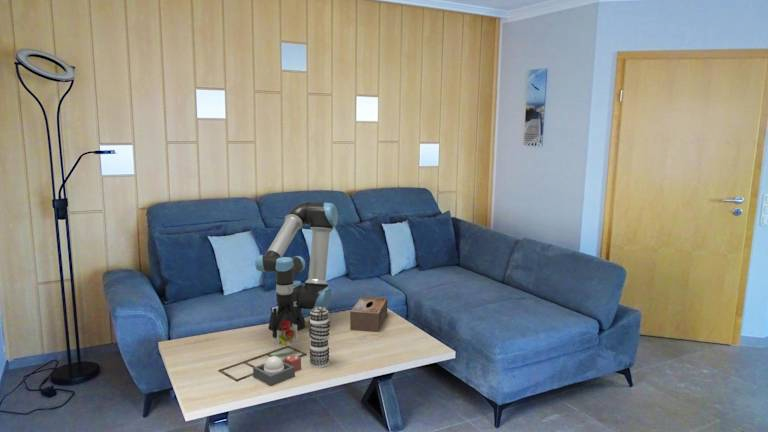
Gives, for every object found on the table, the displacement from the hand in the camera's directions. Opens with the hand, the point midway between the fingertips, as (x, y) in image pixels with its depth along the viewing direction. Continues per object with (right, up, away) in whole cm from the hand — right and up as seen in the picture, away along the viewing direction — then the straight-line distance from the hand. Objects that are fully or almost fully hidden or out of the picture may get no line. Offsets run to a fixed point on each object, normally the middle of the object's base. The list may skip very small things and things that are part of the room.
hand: (285, 341), depth 247 cm
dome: (-1, -9, -20) cm, 22 cm away
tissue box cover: (+36, 0, +43) cm, 56 cm away
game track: (-8, -8, -7) cm, 13 cm away
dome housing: (+1, -10, -18) cm, 21 cm away
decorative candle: (+16, -8, -8) cm, 20 cm away
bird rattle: (0, -1, 0) cm, 1 cm away
